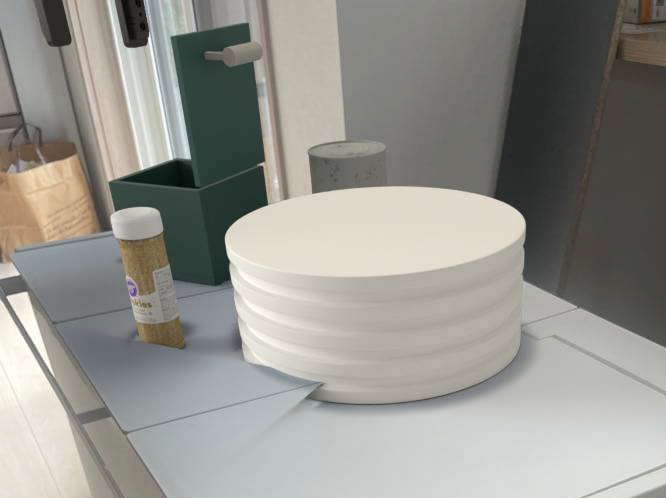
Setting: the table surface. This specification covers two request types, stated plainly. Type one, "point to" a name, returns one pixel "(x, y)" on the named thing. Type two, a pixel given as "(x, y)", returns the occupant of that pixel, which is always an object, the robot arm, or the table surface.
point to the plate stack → (380, 290)
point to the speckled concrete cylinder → (347, 165)
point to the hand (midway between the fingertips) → (97, 46)
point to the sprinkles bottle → (148, 275)
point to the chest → (193, 213)
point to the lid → (219, 100)
